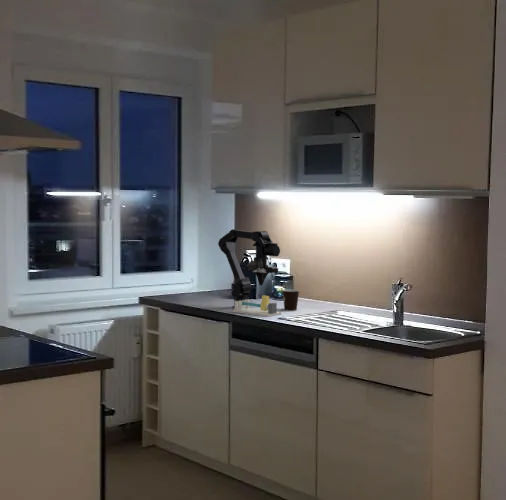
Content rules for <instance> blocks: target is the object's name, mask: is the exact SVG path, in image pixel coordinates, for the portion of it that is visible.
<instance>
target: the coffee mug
mask: <svg viewBox="0 0 506 500" xmlns="http://www.w3.org/2000/svg"><path fill="white" fill-rule="evenodd" d="M299 294H300V290H298V289H283V290H282V298H283V308H284V311H297V309H298V302H299Z"/></svg>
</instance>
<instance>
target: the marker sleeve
mask: <svg viewBox="0 0 506 500" xmlns="http://www.w3.org/2000/svg"><path fill="white" fill-rule="evenodd" d="M268 303H271V302H270V296H269V295H261V301H260V304H261V307H260V310H261V311H268V310H267V309H266V304H268Z"/></svg>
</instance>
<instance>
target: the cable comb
mask: <svg viewBox="0 0 506 500" xmlns="http://www.w3.org/2000/svg"><path fill="white" fill-rule="evenodd" d="M250 301H251V300H250V299H249V298H247V299H246V300H242V301H235V307H234V309H232V312H233V313H239V314H247V315H253V316H259V317H275V316H280V315H282V312H281V311H277V313H274V314H269V313H268V311H261V308H260V309H259V308H251V306H247V305H242V302H248V303H251V302H250Z"/></svg>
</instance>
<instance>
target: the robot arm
mask: <svg viewBox="0 0 506 500" xmlns="http://www.w3.org/2000/svg"><path fill="white" fill-rule="evenodd" d="M239 238H241V239H247V240H252V241H253V242H254V243H253V244H252V247H255V256H254V257H253V261H250V262H249V263H247V264H245V265H244V272H245V271H247V272H249V271H252V273H253V274H255V276H256V278H257V281H258V284H259V286H263V285H264V282H265V280H266V278H267V276H268V275H269V274H275V273H279V268H278V267H277V266H269V265H268V263H267V261H268V260H269V257H276V258H277V257H278V256H279V255H280V254H281V249H280V246H279V245H278V243H277V242H273V240H272V238H271V237H270V235H269V232H268V231H266V230H258V231H249V230H245V229H244V230H243V229H242V230H241V229H237V228H235V229H233V228H232V229H231V230H230V231H229V232H227V233H225V234H224V235H223V236H222V237H221V238H220V239H219V240H218V242H217V245H218V247H219V249H220V251H221V252H222V253H223V254H225V256H226V259H227V262H228V264H229V267H230V269H231V272H232V275H233V278H234V288H233V290H232V291H231V296H232V297H233V302H234V303H233V304H234V305H233V306H231V307H232V308H235V301H242V300H246V299H248V296H249V295H250V293H251V291H252V288H253V287H252V283H251V280H250V277H245V275H244V273H243V271H242V270H243V269H242V268H241V266H240V263H239V259H238V258H237V255H236V252H235V250H236V245H235V244H236V243H237V241H238V239H239Z"/></svg>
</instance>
